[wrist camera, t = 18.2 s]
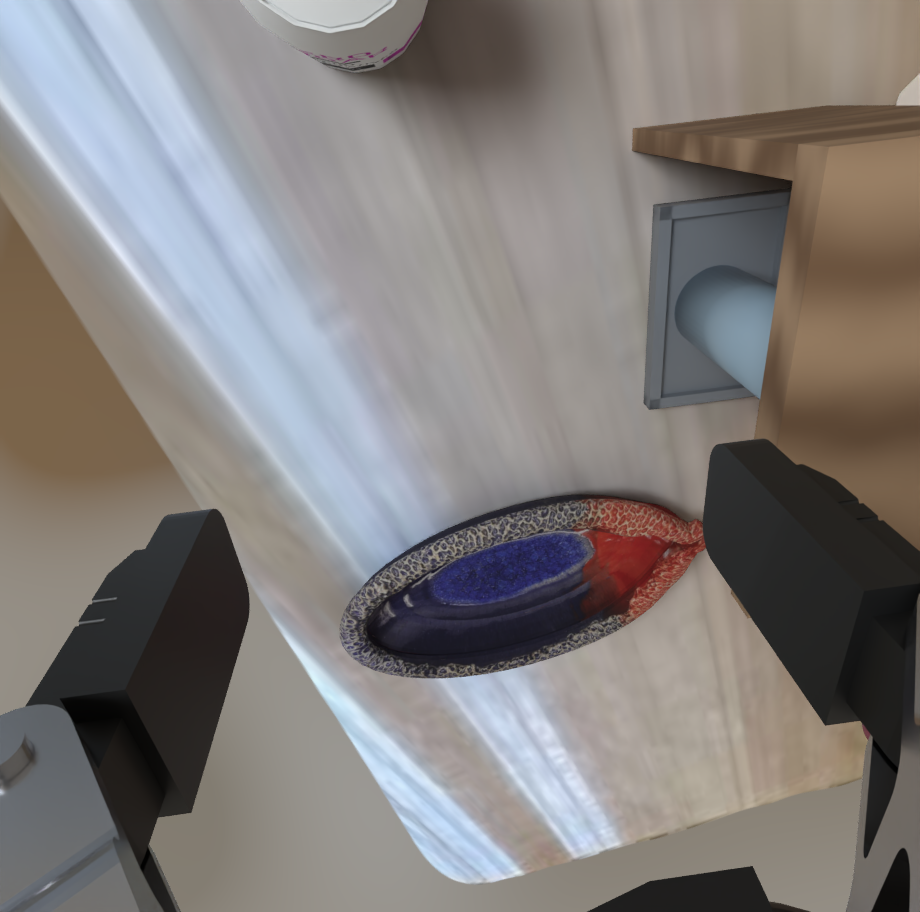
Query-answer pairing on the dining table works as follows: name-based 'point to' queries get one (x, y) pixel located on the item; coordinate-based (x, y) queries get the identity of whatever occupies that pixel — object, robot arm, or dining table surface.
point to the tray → (682, 257)
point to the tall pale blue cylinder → (729, 321)
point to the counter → (836, 290)
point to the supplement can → (343, 28)
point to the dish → (518, 586)
